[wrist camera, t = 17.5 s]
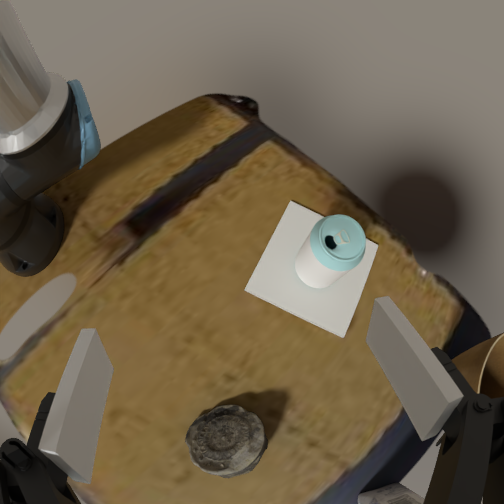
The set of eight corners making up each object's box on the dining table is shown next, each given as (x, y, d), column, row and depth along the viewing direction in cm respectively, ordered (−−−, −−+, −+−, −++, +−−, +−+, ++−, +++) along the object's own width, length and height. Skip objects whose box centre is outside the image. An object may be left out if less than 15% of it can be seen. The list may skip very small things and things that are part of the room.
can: (326, 298, 44) (356, 278, 33) (285, 273, 45) (302, 245, 34) (346, 259, 46) (379, 229, 35) (308, 235, 47) (330, 198, 36)
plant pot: (483, 390, 40) (545, 389, 25) (429, 441, 37) (491, 460, 22) (458, 325, 44) (522, 308, 29) (399, 373, 41) (464, 375, 26)
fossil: (223, 385, 39) (255, 418, 30) (264, 416, 42) (300, 448, 33) (172, 438, 36) (191, 481, 27) (217, 464, 39) (244, 503, 30)
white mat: (244, 290, 44) (244, 289, 44) (289, 202, 49) (290, 200, 49) (342, 337, 43) (343, 337, 42) (376, 246, 48) (378, 245, 47)
